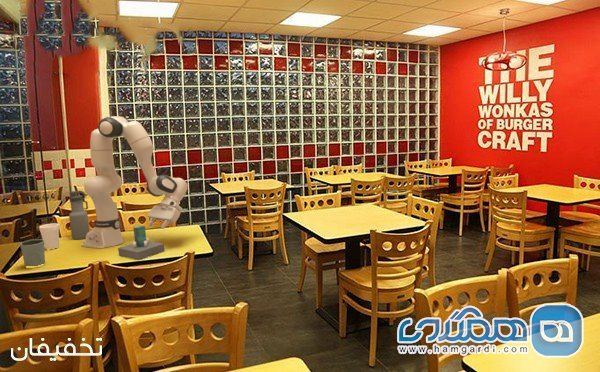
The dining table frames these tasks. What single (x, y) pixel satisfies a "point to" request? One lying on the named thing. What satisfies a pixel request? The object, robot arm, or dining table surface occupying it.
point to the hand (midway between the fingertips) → (156, 227)
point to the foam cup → (50, 235)
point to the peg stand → (141, 250)
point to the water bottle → (78, 215)
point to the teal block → (139, 235)
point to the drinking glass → (33, 252)
